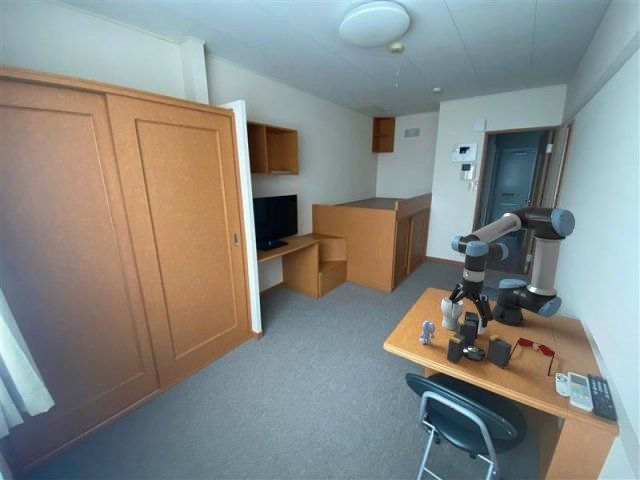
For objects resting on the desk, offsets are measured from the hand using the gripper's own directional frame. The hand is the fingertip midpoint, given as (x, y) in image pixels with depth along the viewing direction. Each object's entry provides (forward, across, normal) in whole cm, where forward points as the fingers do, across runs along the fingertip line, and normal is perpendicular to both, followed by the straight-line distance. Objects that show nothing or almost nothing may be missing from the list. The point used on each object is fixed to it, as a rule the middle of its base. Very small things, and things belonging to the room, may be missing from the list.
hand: (467, 324), depth 115 cm
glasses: (+18, +10, +28) cm, 35 cm away
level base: (+17, 0, +6) cm, 18 cm away
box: (+17, -13, +18) cm, 28 cm away
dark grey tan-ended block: (+17, +7, +12) cm, 22 cm away
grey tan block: (+17, -9, +10) cm, 22 cm away
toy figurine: (+17, -15, -8) cm, 24 cm away
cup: (+17, -22, +14) cm, 31 cm away
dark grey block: (+17, -1, -4) cm, 17 cm away
